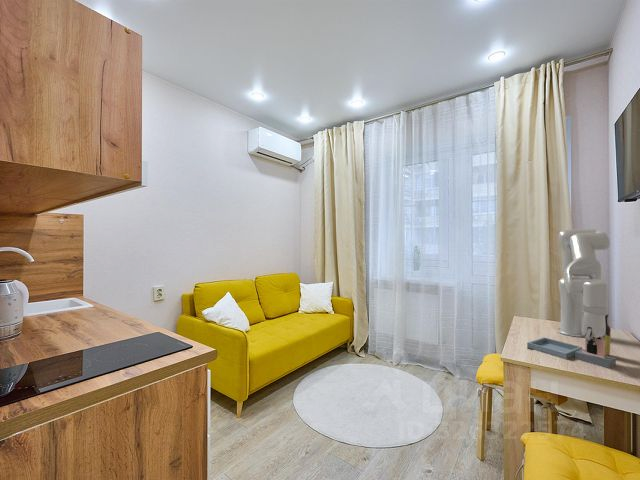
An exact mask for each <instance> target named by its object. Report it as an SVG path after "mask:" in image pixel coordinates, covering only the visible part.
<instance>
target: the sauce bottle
mask: <svg viewBox="0 0 640 480" xmlns="http://www.w3.org/2000/svg"><path fill="white" fill-rule="evenodd" d="M608 318H609V313H607V315H606V316H605V323H606V332H605V335H604V336H603V340H605V355H607V356H610V354H611V332H612V331H611V327H610V326H609V324H608ZM591 337H594V336H593V335H591Z"/></svg>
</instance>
